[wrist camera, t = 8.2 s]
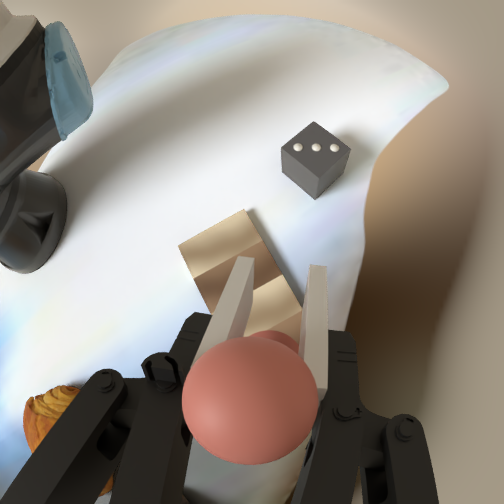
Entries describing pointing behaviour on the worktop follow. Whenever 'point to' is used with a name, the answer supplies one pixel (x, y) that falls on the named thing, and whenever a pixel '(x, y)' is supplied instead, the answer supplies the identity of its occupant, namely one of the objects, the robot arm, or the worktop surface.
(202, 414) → the pawn
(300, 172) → the die
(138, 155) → the worktop surface
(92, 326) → the worktop surface
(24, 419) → the croissant
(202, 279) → the track
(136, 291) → the worktop surface
